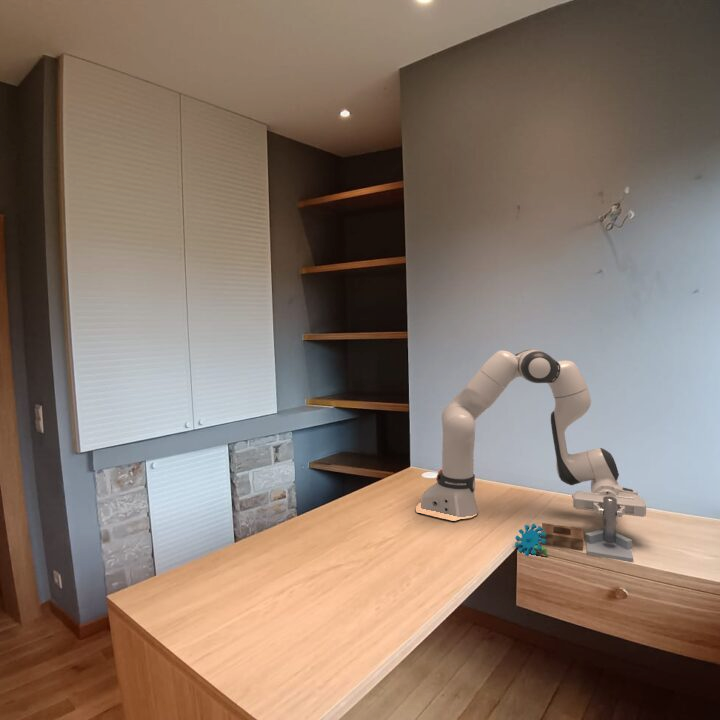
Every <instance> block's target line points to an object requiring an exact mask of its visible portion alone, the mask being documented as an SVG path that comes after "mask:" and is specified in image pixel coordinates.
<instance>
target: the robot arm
mask: <svg viewBox="0 0 720 720" xmlns="http://www.w3.org/2000/svg"><path fill="white" fill-rule="evenodd" d="M519 377H521V378H523V379H524V380H526V381H528V382H530V383H533V384H548V386H549V387H550V389H551V393H552V396H553V399H554V410H552V412H551V413H550V425H551V432H552V439H553V440H552V441H553V444H554V446H553V447H554V452H555V458H556V473H557V475H558V478H559V480H560V481H562V482H563V483H564V484H566V485H570V486H575V485H577V484H581V483H585V482H589V481H590V490H591V491H583V490H582V491H581V490H578V491H575V492H574V493H572V494H571V498H572V503H573V504H572V506H573V508H575V510H576V509H577V510H584V511H593V512H595V513H597V515H602V516H603V497H614V498H616V499H617V515H616V518H623V516H633V517H641V518H644V517H646V516H647V504H646V502H645V501H644V499H643V497H641V496H640V495H639V493H638V492H639V491H637V490H634V489H632V488H628V487H627V488H626V487H623V486H620V484H619V482H618V480H619V475H620V474H619V470H618V467H617V463H616V461H615V459H614V457H613V455H612V454H611V452H609V451H608V450H606V449H605V448H602V447H600V448H599V447H598V448H594V449H589V450H586V451H581V452H578V453H573V454H571V453H568V448H567V440H566V434H565V432H566V430H567V429H568V427H569V426H571V425H572V424H573V423H575V422H576V421H578V420H579V419H580V418H582V417H583V416H584V415H585V414H586V413H587V412H588V411H589V410H590V407H591V404H592V403H591V402H592V400H591V399H592V398H591V395H590V392H589V388H588V386H587V384H586V381H585V379H584V376H583V375H582V373H581V370H580V369H579V367H578V366H577V365H576V363H575V362H574V361H572V360H568V359H567V360H566V359H565V360H559V361H557V360H556V359H554V358H553V357H552V356H551V355H549V354H548V353H546V352H544V351H543V350H541V349H527V350H526V349H525V350H523V351H521V352H519V353H516V354H513V353H512V352H510V351H508V350H503V349H502V350H497V351H496V352H495V353H494V354H493V355H491V356H490V357H489V358H488V359H487V360H486V361H485V362H484V364H482V365H481V367H480V368H479V369H478V371H477V372H476V373H475V374H474V375H473V377H472V378H471V380H469V381H468V383H467V385H466V386H464V388H463V389H462V390H460V392H459V393H457V395H456V396H455V397H454V398H453V399H452V400H451V401H450V402H449V403H448V405H447V406H446V407H445V408H444V409H443V410H442V414H441V424H442V451H441V452H442V453H441V454H442V455H441V457H442V459H441V460H442V464H441V465H442V467H441V468H442V469H440V470H439V471H438V473H437V475H436V477H435V478H436V482H435V483H434V484H432V485H431V486H429V487H427V488H426V490H425V491H424V492H423V494H422V497H421V499H420V500H419V501H420V502H421V508H422V509H426V510H431V511H436V512H440V513H444V514H449V515H453V516H457V517H466V516H473V515H475V514H477V513H478V514H479V511H478V507H477V503H476V497H475V490H476V476H475V474H474V471H475V470H474V469H475V468H474V461H475V460H474V451H475V441H476V420H477V419H478V418H479V417H480V416H481V415H482V414H483V413H484V412H486V410H488V409H489V408H491V407H492V405H494V404H495V402H496V401H497V399H498V398H499V397H500V396H501V395H502V393H503V392H504V391H505V389H506V388H507V387H508V386H509V384H510V383H511V382H512V381H513V380H515V379H517V378H519Z"/></svg>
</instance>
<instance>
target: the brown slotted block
mask: <svg viewBox="0 0 720 720" xmlns="http://www.w3.org/2000/svg"><path fill="white" fill-rule="evenodd" d="M541 528H542V529H543V530H542V531H540V533H541V532H543V531H544V532H545V533H546V536H545V537H543V536H542V535H541V536H540V538H541V539H545V540H546V543H545V544H543V543H542V542H541V541H540V545H544V546H552V547H555V548H556V547H558V548H563V549H564V548H565V549H569V550H574V551H575V550H576V551H582V552H583V551H584V530H583V529H584V528H582V527H581V528H580V527H574V526H568V525H559V524H555V523H554V524H553V523H546V522H541Z"/></svg>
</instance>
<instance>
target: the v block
mask: <svg viewBox="0 0 720 720" xmlns="http://www.w3.org/2000/svg"><path fill="white" fill-rule="evenodd" d="M584 535H585V536H584V542H585V544H586V545H585V546H586V547H585V548H586V555H588V556H593V557H594V556H595V557H599V558H600V557H601V558H606V559H611V560H620V561H624V562H625V561H626V562H630V563H631V562H632V563H633V562H634V555H633V551H632V549H633V539H631V538H629V537H626V536H624V535H622V534H620V533H618V532H616V542H615V543H607V542H605V541H603V528H602V529H599V530H593V531H590V532H586V533H585V534H584Z"/></svg>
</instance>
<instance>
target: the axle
mask: <svg viewBox="0 0 720 720" xmlns="http://www.w3.org/2000/svg"><path fill="white" fill-rule="evenodd" d="M616 515H617V499H616V498H614V497H603V515H602V529H603V541H605V542H607V543H615V542H616V533H617V516H616Z"/></svg>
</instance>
